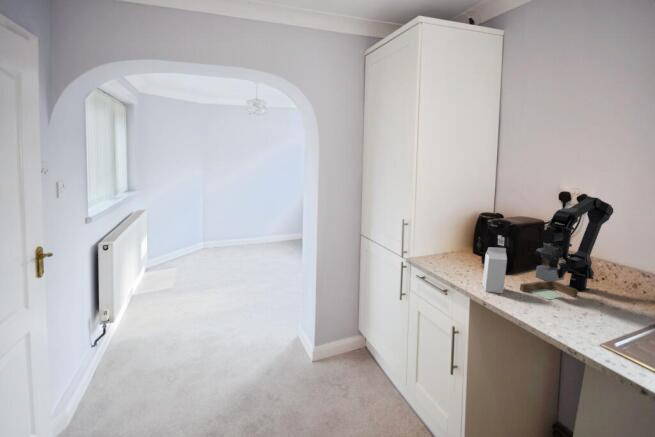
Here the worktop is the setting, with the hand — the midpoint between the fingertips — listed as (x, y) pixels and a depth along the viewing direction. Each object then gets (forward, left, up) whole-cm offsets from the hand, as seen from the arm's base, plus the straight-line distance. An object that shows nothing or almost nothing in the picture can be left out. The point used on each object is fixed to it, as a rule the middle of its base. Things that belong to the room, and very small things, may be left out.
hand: (556, 276), depth 157 cm
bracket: (+2, -1, -1) cm, 3 cm away
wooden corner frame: (+2, -1, -8) cm, 9 cm away
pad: (+2, -1, -8) cm, 9 cm away
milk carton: (+21, -12, -8) cm, 26 cm away
